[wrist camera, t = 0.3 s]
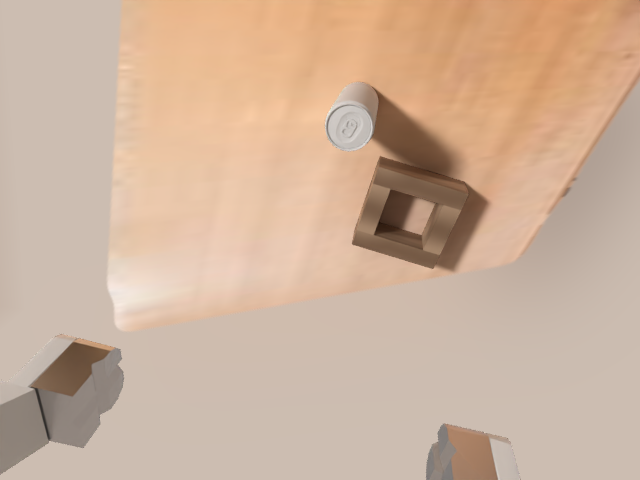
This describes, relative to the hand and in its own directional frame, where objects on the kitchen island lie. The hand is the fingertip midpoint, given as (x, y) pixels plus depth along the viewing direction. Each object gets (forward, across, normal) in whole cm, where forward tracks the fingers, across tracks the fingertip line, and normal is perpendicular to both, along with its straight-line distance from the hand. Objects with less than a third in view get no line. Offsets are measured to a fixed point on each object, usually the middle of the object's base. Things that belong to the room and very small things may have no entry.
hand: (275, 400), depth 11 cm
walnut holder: (+46, -8, +14) cm, 48 cm away
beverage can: (+46, +1, +2) cm, 46 cm away
